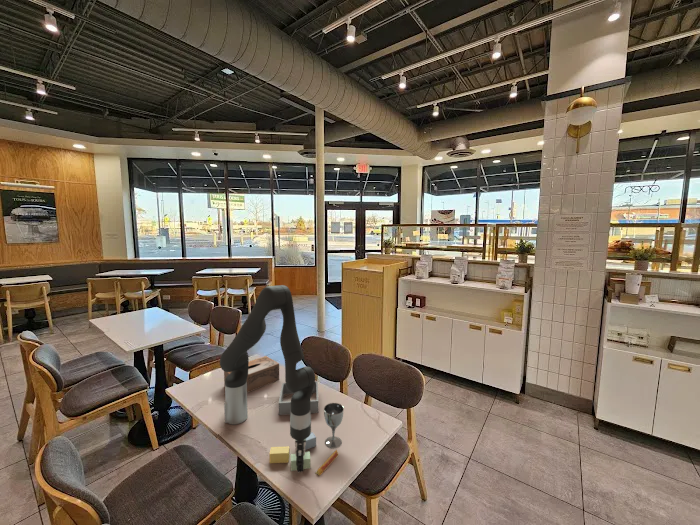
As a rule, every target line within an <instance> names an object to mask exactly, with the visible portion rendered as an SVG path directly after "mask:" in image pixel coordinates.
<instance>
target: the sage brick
mask: <svg viewBox="0 0 700 525" xmlns="http://www.w3.org/2000/svg"><path fill="white" fill-rule="evenodd" d="M307 469H311V452H310V451H305V455H304V464H303V470H307ZM292 471H297V466H296V455H295V453H291V454H290V472H292Z"/></svg>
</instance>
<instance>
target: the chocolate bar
mask: <svg viewBox="0 0 700 525" xmlns="http://www.w3.org/2000/svg"><path fill="white" fill-rule="evenodd" d="M338 456H339V452H338V450H337V449H335V451H334V452H332V453H331V455H330V456H329V457H328V458H327V459H326V460H325V461H324V463H322V465H320V467H319V468H318V469H317V470H316V471H315V474H316V475H318V476H320V477H321V475H322V474H323V473H325V470H327V468H329V466H330V465H332V463H333V462H334V461H335V460H336V459H337V458H338Z"/></svg>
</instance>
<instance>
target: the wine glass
mask: <svg viewBox="0 0 700 525" xmlns="http://www.w3.org/2000/svg"><path fill="white" fill-rule="evenodd" d="M344 413H345V412H344V406H343V405H342V404H341V403H339V402H329V403H327V404H326V405H324V407H323V418H324V420H325V421H324V422H325V423H326V425H327V426H328V427H329V428H330V429H331V432H332V436H329V437H327V438H326V439H325V440H324V445H325V446H326V447H327V448H328V449H333V450H336V449H338V448H340V447H341V446H342V444H343V441H342V439H341V438H340V437H339V436H335V433H336V430H337V428H338V427H339V426H340V425H341V424H342V422H343V418H344Z"/></svg>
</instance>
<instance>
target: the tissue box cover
mask: <svg viewBox="0 0 700 525" xmlns="http://www.w3.org/2000/svg"><path fill="white" fill-rule="evenodd" d="M230 373H231V372H225V371H223V379H224V380H223V381H224V384H223V386H224V387H225V379H226V377H227V376H228V375H229V374H230ZM279 380H280V363H279V362H277V361H275V360H274V359H272V358H271V357H269V356H267V355H264V356H261V357H259V358H255V359H252V360H249V365H248V377H247V393H249V392H253V391H254V390H255V391H256V390H258V389H260V388H263V387H265V386H267V385H269V384H272V383H274V382H277V381H279Z"/></svg>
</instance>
